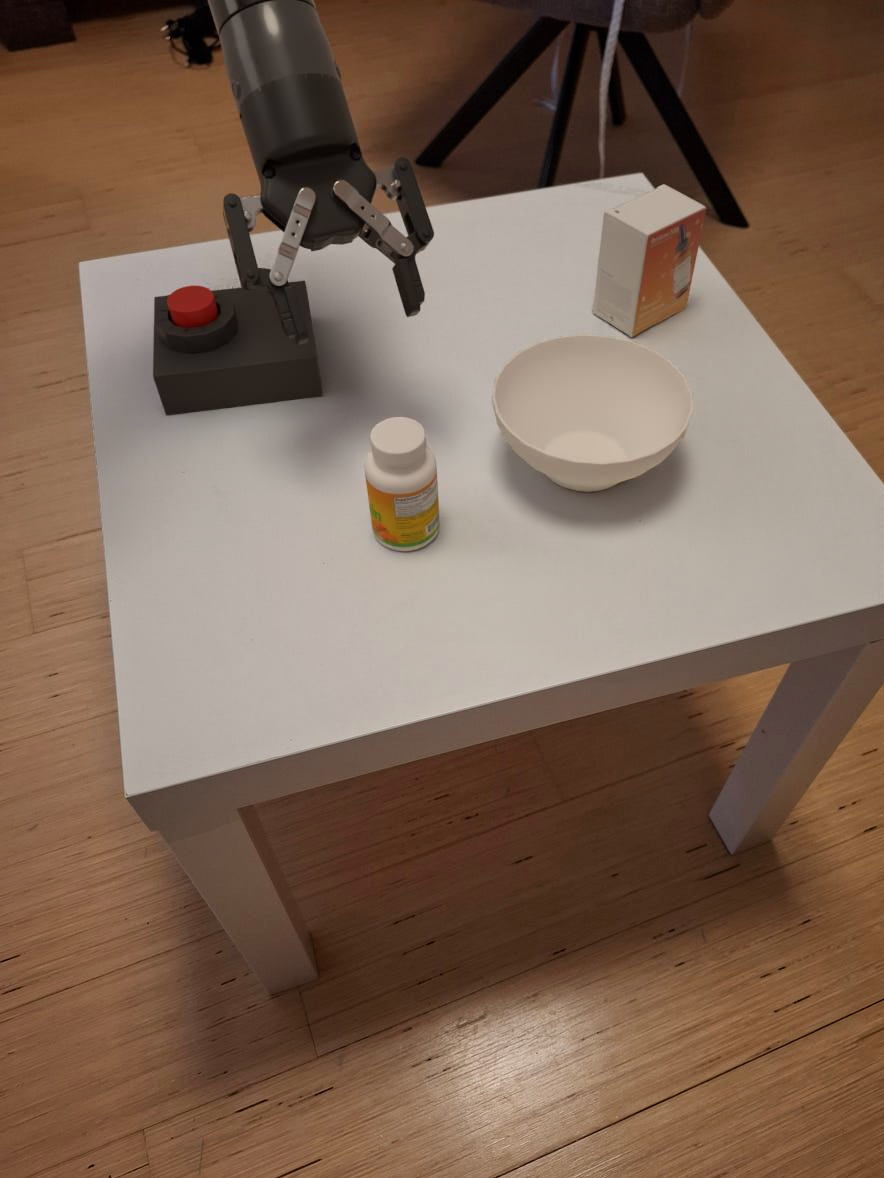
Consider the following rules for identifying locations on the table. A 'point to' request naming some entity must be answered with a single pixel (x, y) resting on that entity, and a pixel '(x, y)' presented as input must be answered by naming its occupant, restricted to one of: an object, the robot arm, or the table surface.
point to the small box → (647, 259)
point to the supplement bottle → (402, 485)
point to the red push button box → (233, 355)
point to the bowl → (591, 409)
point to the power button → (192, 306)
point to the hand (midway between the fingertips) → (359, 328)
